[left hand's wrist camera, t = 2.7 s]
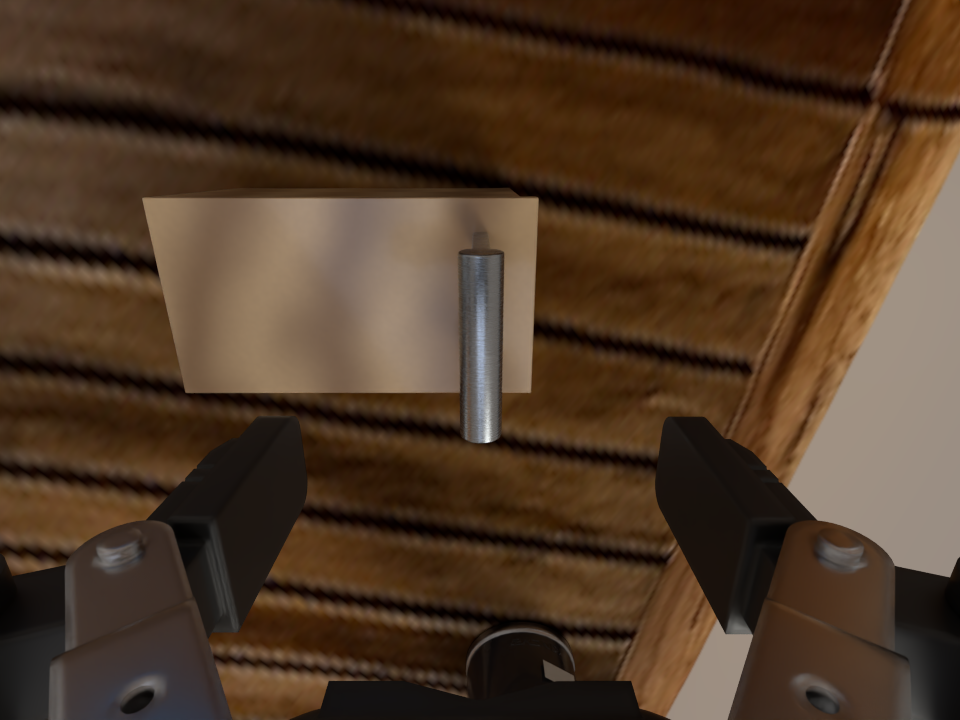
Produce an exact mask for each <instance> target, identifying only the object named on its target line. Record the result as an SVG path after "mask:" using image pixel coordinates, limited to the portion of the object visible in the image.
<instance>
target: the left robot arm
mask: <svg viewBox="0 0 960 720" xmlns="http://www.w3.org/2000/svg"><path fill="white" fill-rule="evenodd" d="M655 490H656V497H657V502H658V505H659V508H660V510H661V512H662V513H663V515H664V517H665V519H666V521H667V523H668V525H669V527H670V529H671V531H672V533H673V534H674V536H675V538H676V540H677V542H678V544H679V546H680V548H681V550H682V552H683V554H684V555H685V557H686V559H687V561H688V563H689V565H690V567H691V569H692V571H693V573H694V575H695V577H696V578H697V580H698V582H699V584H700V586H701V588H702V590H703V592H704V594H705V596H706V598H707V599H708V601H709V603H710V605H711V607H712V609H713V611H714V613H715V615H716V617H717V619H718V620H719V622H720V624H721V626H722V628H723V630H724V632H725V634H753V638H752V642H751V645H750V648H749V652H748V655H747V658H746V661H745V665H744V668H743V671H742V674H741V678H740V681H739V684H738V687H737V691H736V694H735V697H734V701H733V704H732V707H731V710H730V714H729V717H728V720H960V557H959V558H958V560H957V562H956V565H955V567H954V569H953V572H952V574H951V577H945V576H940V575H935V574H930V573H926V572H921V571H916V570H911V569H906V568H902V567H897V566H894V563H893V561H892V559H891V558H890V557H889V555H888V554H887V553H886V552H885V551H884V550H883V549H882V548H881V547H880V546H879V545H877V544H876V543H875V542H873V541H872V540H870V539H869V538H867V537H865V536H863V535H862V534H860V533H858V532H856V531H853V530H851V529H849V528H846V527H843V526H840V525H837V524H833V523H829V522H824V521H817V520H816V518H815V517H814V516H813V515H812V514H811V513H810V512H809V511H808V510H807V509H806V508H805V507H804V506H803V505H802V504H801V503H800V502H799V501H798V500H797V498H796V497H795V496H794V495H793V494H792V493H791V492H790V491H789V490H788V489H787V488H786V487H785V486H784V485H783V484H782V483H779V482H778V478H777V477H776V476H775V475H774V474H773V473H772V472H771V471H770V470H767V467H766V466H765V465H764V464H763V463H762V462H761V461H760V459H759V458H758V457H757V456H756V455H755V454H754V453H753V452H752V451H750V450H748V449H746V448H745V447H743V446H741V445H740V444H738V443H736V442H734V441H733V440H731V439H724V438H723V437H722V436H721V434H720V433H719V432H718V431H717V430H716V429H715V428H714V427H713V425H712V424H711V423H710V422H709V421H708V420H707V419H706V418H705V417H667V418H666V420H665V422H664V425H663V429H662V436H661V443H660V450H659V457H658V464H657V471H656V479H655ZM306 494H307V473H306V466H305V459H304V452H303V445H302V437H301V430H300V425H299V421H298V419H297V418H296V417H295V416H259V417H257V418H256V419H255V420H254V421H253V423H252V424H251V425H250V426H249V427H248V428H247V429H246V430H245V432H244V433H243V434H242V435H241V436H240V437H239V438H232V439H231V440H229V441H227V442H225V443H224V444H222V445H220V446H219V447H217V448H215V449H214V450H212V451H211V452H210V453H209V454H208V455H207V456H206V457H205V458H204V459H203V460H202V461H201V462H200V463H199V464H198V465H197V469H194V470H193V471H192V472H191V473H190V474H189V475H188V476H187V477H186V478H185V482H181V483H180V484H179V486H178V487H177V488H176V489H175V490H174V491H173V492H172V493H171V494H170V495H169V496H168V497H167V498H166V499H165V500H164V501H163V503H162V504H161V505H160V506H159V507H158V508H157V509H156V510H155V511H154V512H153V513H152V514H151V515H150V516H149V517H148V519H147V520H144V521H136V522H131V523H127V524H123V525H120V526H117V527H114V528H111V529H109V530H107V531H104V532H102V533H100V534H98V535H97V536H95V537H93V538H91V539H90V540H88V541H87V542H85V543H84V544H83V545H81V546H80V547H79V548H78V549H77V550H76V551H75V552H74V553H73V554H72V555H71V557H70V558H69V559H68V561H67V563H66V565H64V566H60V567H55V568H50V569H45V570H40V571H36V572H31V573H26V574H21V575H16V576H12V575H11V572H10V570H9V567H8V565H7V562H6V560H5V558H4V556H3V555H2V554H0V720H232V717H231V714H230V710H229V707H228V704H227V701H226V697H225V694H224V691H223V687H222V684H221V681H220V678H219V674H218V671H217V668H216V665H215V661H214V658H213V655H212V652H211V648H210V645H209V642H208V638H209V636H210V635H211V633H212V632H239V630H240V628H241V626H242V624H243V622H244V620H245V618H246V616H247V614H248V613H249V611H250V609H251V607H252V605H253V603H254V601H255V599H256V597H257V595H258V593H259V591H260V589H261V587H262V585H263V583H264V582H265V580H266V578H267V576H268V574H269V572H270V570H271V568H272V566H273V564H274V562H275V560H276V558H277V556H278V554H279V553H280V551H281V549H282V547H283V545H284V543H285V541H286V539H287V537H288V535H289V533H290V531H291V529H292V527H293V525H294V524H295V522H296V520H297V518H298V516H299V514H300V512H301V510H302V508H303V506H304V503H305V499H306ZM466 677H467V697H462V696H459V695H455V694H451V693H447V692H443V691H439V690H436V689H432V688H428V687H424V686H420V685H417V684H413V683H409V682H405V681H329V682H328V686H327V689H326V693H325V696H324V700H323V703H322V706H321V709H318V710H314V711H310V712H308V713H305V714H302V715H300V716H297V717H294V718H292V719H290V720H670V719H668V718H666V717H663V716H660V715H658V714H655V713H652V712H650V711H646V710H642V709H639V706H638V703H637V700H636V696H635V693H634V689H633V686H632V682H631V681H576V677H575V666H574V660H573V655H572V651H571V648H570V646H569V644H568V642H567V641H566V640H565V639H564V638H563V637H562V636H561V635H560V634H559V633H558V632H556V631H555V630H553V629H551V628H549V627H547V626H544V625H541V624H537V623H532V622H510V623H505V624H501V625H498V626H495V627H493V628H491V629H489V630H487V631H485V632H484V633H482V634H481V635H480V636H479V637H477V638H476V640H475V641H474V642H473V643H472V645H471V646H470V648H469V650H468V653H467V658H466Z"/></svg>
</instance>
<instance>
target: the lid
mask: <svg viewBox="0 0 960 720" xmlns="http://www.w3.org/2000/svg"><path fill="white" fill-rule="evenodd" d="M142 200H143V204H144V209H145V213H146V218H147V222H148V227H149V231H150V236H151V240H152V245H153V249H154V253H155V258H156V262H157V267H158V271H159V276H160V280H161V285H162V289H163V294H164V298H165V303H166V307H167V312H168V316H169V321H170V325H171V330H172V334H173V338H174V343H175V347H176V352H177V356H178V361H179V365H180V370H181V374H182V379H183V383H184V388H185V392H186V393H460V434H461V436H462V437H463V438H464V439H465V440H467V441H469V442H473V443H489V442H493V441H495V440H497V439H498V438H499V437H500V436H501V425H502V393H531V379H532V353H533V328H534V302H535V276H536V251H537V225H538V198H537V197H144V198H142Z"/></svg>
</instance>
